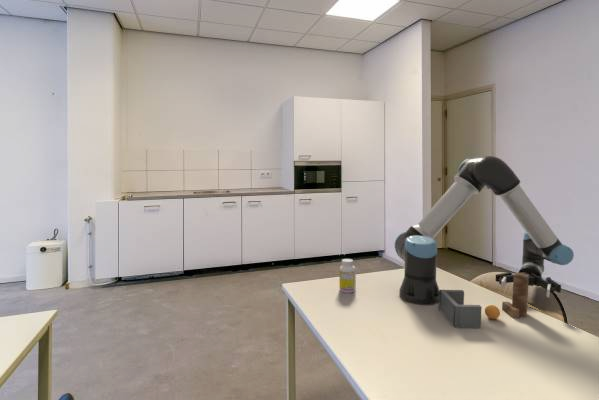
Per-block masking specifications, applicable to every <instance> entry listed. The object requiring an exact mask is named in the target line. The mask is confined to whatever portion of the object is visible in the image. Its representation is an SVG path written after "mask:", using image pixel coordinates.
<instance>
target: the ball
mask: <svg viewBox="0 0 599 400" xmlns="http://www.w3.org/2000/svg"><path fill="white" fill-rule="evenodd" d="M500 311H501V310H500V309H499V307H497V305H495V304H488V305H487V306H486V307H485V308H484V314H485V316H486V317H487V318H488V319H491V320H496V319H498V318H499V317H500V315H501V312H500Z"/></svg>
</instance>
